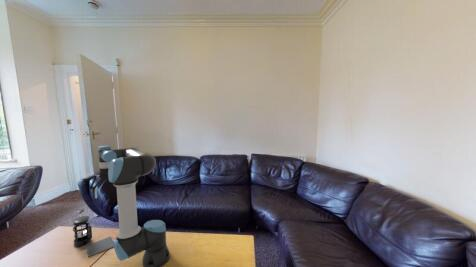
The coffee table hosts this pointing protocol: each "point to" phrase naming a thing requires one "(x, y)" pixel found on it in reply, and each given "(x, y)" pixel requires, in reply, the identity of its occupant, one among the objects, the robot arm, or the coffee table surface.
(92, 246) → the plate
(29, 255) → the coffee table surface
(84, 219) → the black lantern
